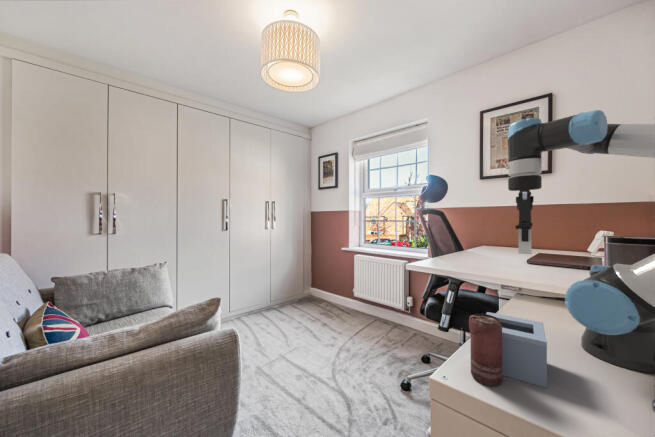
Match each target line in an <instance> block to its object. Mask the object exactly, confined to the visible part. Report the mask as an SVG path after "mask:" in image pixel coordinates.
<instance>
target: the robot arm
mask: <svg viewBox="0 0 655 437" xmlns="http://www.w3.org/2000/svg"><path fill="white" fill-rule="evenodd" d="M506 141H507V157H508V158H507V159H508V160H507V163H508V165H506V166H505V170H508V174H507V175H508V176H509V178H508V179H507V182H508V183H507V185H508V186H507V189H508V191H509V192H510V191H511V192H518V191H519V192H518V195H517V196H516V197H515V203H516V210H517V211H518V223H517V224H518V225H515V230H518V238H517V239H518V254H520V255H532V227H533V222H532V210H533V208H534V206H533V203H534V197H535V196H534V195H532V192H531V191H535V190H539V189H540V190H541V189H542V187H543V186H542V182H543V181H542V180H543V179H542V176H541V174H542V173H543V172H542V171H543V170H542V169H543V166H542V164H543V161H542V160H543V159H542V157H543V156H542V153H545V152H550V151H556V150H560V149H561V150H562V149H568V150H569V149H570V150H572V151H575V152H576V151H577V152H578V153H581V154H586V155H594V154H598V155H599V154H600V155H614V156H615V155H616V156H624V157H626V156H627V157H637V158H638V157H639V158H651V159H655V123H654V124H652V123H650V124H649V123H646V124H645V123H643V124H640V123H632V124H631V123H608V120H607V116H606V115H605V112H604V111H602V110H600V109H595V110H591V111H587V112H586V111H585V112H579V113H577V114H574V115H570V116H567V117H562V118H558V119H555V120H552V121H548V122H544V123H543V122H542V120H541V118H539V117H529V118H528V117H527V118H523V119H518V120H517V121H513V122H512V123H511V124H510V125H509V126H508V133H507V140H506ZM588 273H589V277H587V278H584V279H583V280H578V281H576V282H574V283H572V284H571V285H570V287H569V288H568V289H567V290H566V291H565V292H566V293H565V294H564V295H565V296H564V303H565V306H566V309H567V311H568V313H569V314H570V315H571V317H572V318H573V319H574V320H575V321H576V322H578V323H579V324H580V325H581V326H583V327H585V329H584V331H583V333H582V335H581V338H580V339H581V344H580V345H581V348H582V349H583V350H584V351H585V352H587V353H588V354H590V355H592V356H594V357H595V358H598V359H600V360H602V361H604V362H607V363H610V364H611V365H615V366H619V367H621V368H622V367H623V368H624V369H630V370H633V371H638V372H644V373H649V374H655V373H654V372H655V253H653V254H651V255H649V256H647V257H645V258H643V259H642V260H641V259H640V260H639V261H636V262H635V263H633V264H624V263H623V264H622V263H614V264H612V265H603V264H602V265H601V264H593V265H591V266H590V270H589V272H588Z"/></svg>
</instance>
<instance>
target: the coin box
mask: <svg viewBox="0 0 655 437" xmlns="http://www.w3.org/2000/svg"><path fill="white" fill-rule="evenodd" d="M485 314H487V315H491V316H494V317H497V318H498V319H499V320H500V322H501V324H502V376H505V377H508V378H511V379H515V380H518V381H522V382H525V383H528V384H532V385H535V386H538V387H541V388H545V389H548V354H547V353H548V346H547V344H548V342H547V337H546V336H547V335H546V331H545V326H544V322H542V321H538V320H537V321H536V320H533V319H527V318H523V317H522V318H521V317H516V316H512V315H505V314H500V313H494V312H489V311H487V312H486V313H485Z"/></svg>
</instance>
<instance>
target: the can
mask: <svg viewBox="0 0 655 437" xmlns="http://www.w3.org/2000/svg"><path fill="white" fill-rule="evenodd" d="M468 329H469V333H470V374H471V376H472V378H473V379H474V380H475V381H477V382H478V383H479V384H482V385H484V386H487V387H499V386H500V385H501V384H502V383H503V375H502V324H501V322H500V320H499V319H498V318H497V317H494V316H491V315H487V314H486V313H474V314H472V315H470V316H469V320H468Z"/></svg>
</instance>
